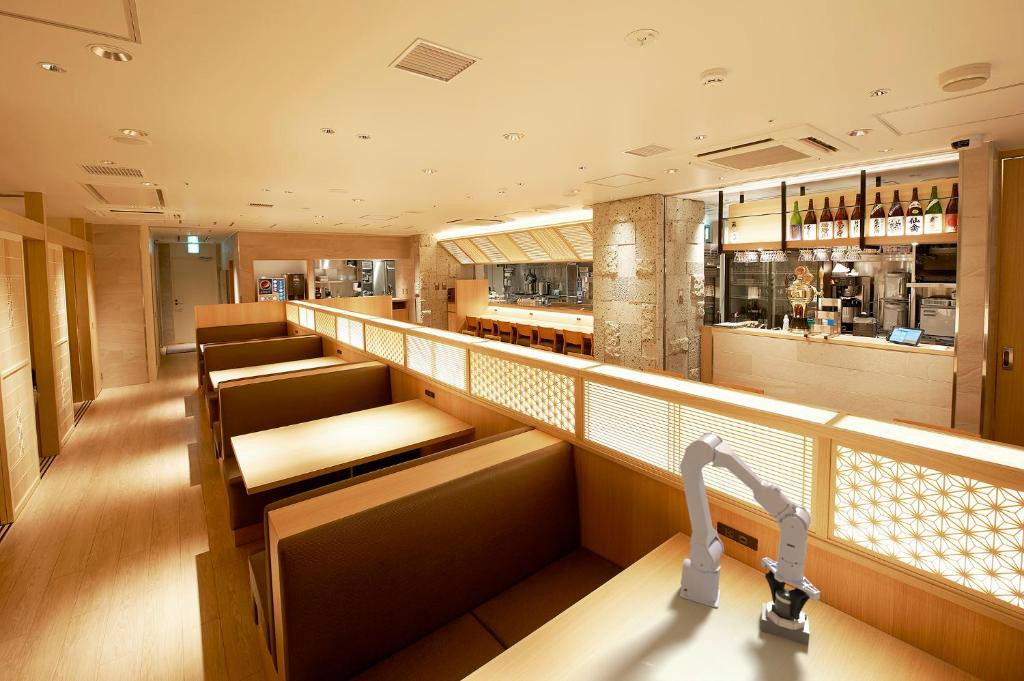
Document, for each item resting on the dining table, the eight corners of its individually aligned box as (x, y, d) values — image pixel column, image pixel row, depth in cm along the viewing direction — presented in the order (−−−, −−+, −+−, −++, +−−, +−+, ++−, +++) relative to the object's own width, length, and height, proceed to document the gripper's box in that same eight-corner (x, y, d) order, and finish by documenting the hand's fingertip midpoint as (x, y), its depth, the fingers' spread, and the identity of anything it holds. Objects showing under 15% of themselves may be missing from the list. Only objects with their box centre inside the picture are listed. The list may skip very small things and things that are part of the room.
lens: (768, 612, 122) (771, 589, 121) (783, 608, 123) (786, 586, 123) (784, 624, 118) (786, 602, 117) (799, 621, 119) (802, 598, 118)
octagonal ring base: (760, 631, 120) (762, 614, 119) (761, 612, 127) (762, 596, 126) (808, 646, 115) (810, 629, 115) (806, 625, 122) (808, 608, 122)
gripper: (754, 544, 124) (749, 594, 126) (806, 578, 110) (800, 633, 112) (775, 539, 126) (770, 588, 128) (829, 572, 113) (822, 626, 115)
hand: (785, 609), depth 120 cm, fingers closed on lens, 4 cm apart
